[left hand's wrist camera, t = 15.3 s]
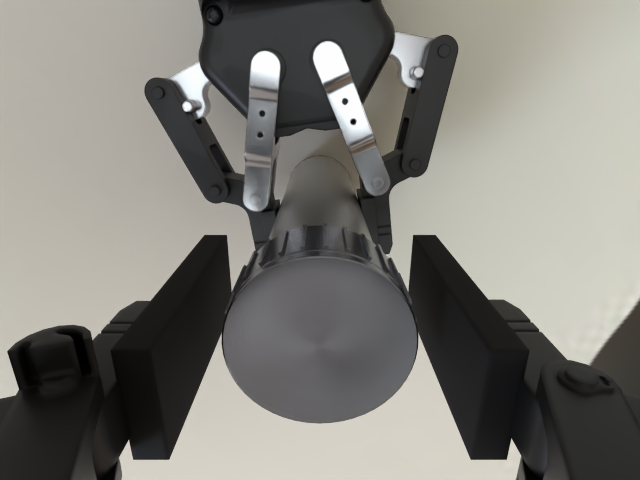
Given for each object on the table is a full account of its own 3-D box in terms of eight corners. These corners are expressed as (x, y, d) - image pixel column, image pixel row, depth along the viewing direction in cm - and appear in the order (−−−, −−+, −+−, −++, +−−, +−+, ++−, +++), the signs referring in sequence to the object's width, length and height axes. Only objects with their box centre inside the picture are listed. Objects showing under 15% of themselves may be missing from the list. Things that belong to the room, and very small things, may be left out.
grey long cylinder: (276, 180, 27) (208, 315, 10) (326, 142, 26) (338, 226, 10) (313, 227, 28) (304, 417, 12) (363, 193, 27) (428, 344, 11)
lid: (290, 392, 13) (284, 451, 11) (204, 271, 12) (177, 312, 10) (429, 329, 12) (452, 379, 10) (355, 190, 11) (364, 214, 9)
